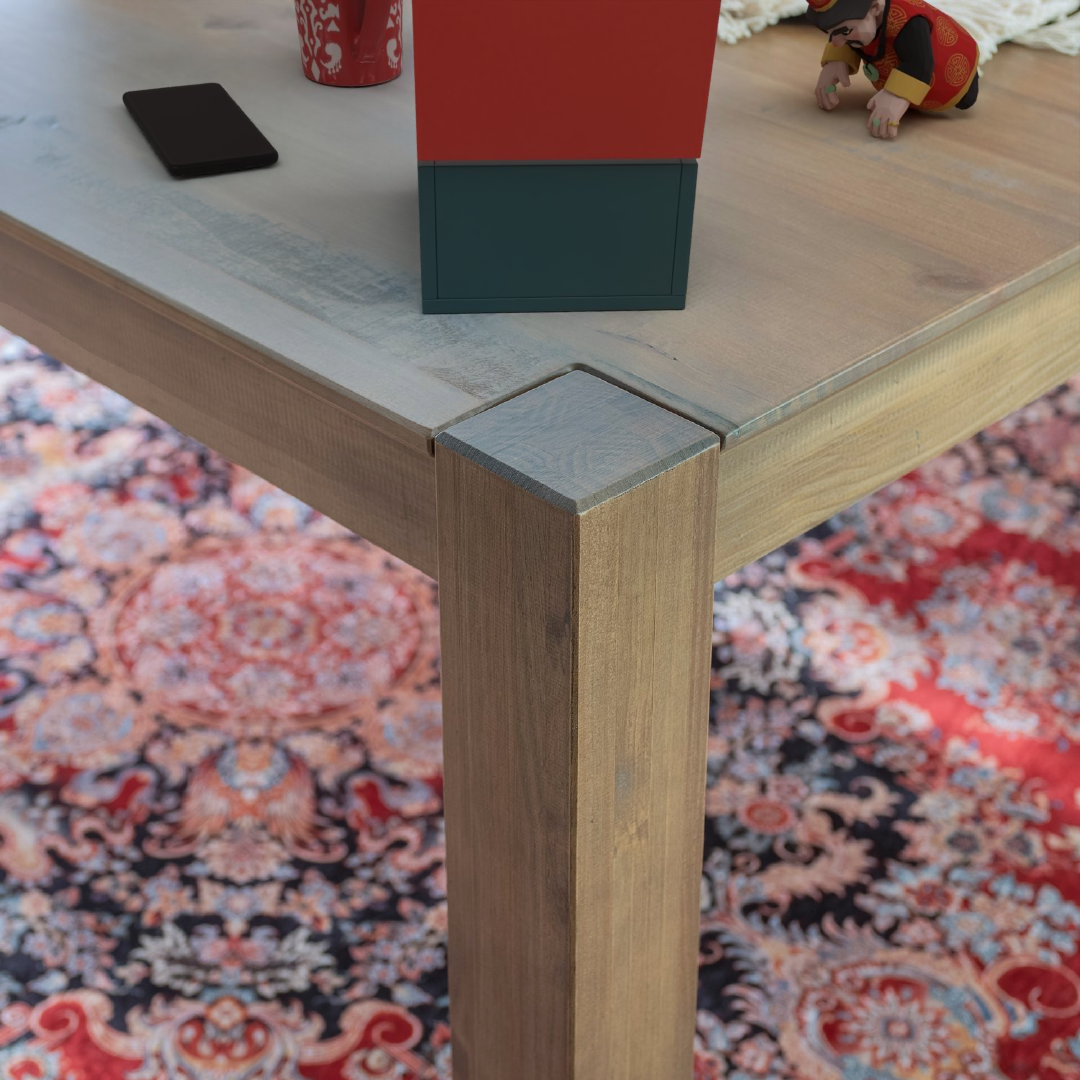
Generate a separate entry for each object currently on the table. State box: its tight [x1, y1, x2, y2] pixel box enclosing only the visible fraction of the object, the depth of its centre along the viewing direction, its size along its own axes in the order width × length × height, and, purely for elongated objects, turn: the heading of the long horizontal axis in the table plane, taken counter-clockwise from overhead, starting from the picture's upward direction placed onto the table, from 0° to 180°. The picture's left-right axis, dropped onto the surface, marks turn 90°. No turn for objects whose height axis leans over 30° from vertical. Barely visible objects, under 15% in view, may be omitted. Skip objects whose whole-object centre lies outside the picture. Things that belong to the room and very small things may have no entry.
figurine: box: [805, 0, 981, 139], centre depth 93 cm, size 10×10×15 cm
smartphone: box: [121, 82, 280, 178], centre depth 90 cm, size 7×1×15 cm
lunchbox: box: [416, 158, 699, 314], centre depth 75 cm, size 17×14×8 cm
